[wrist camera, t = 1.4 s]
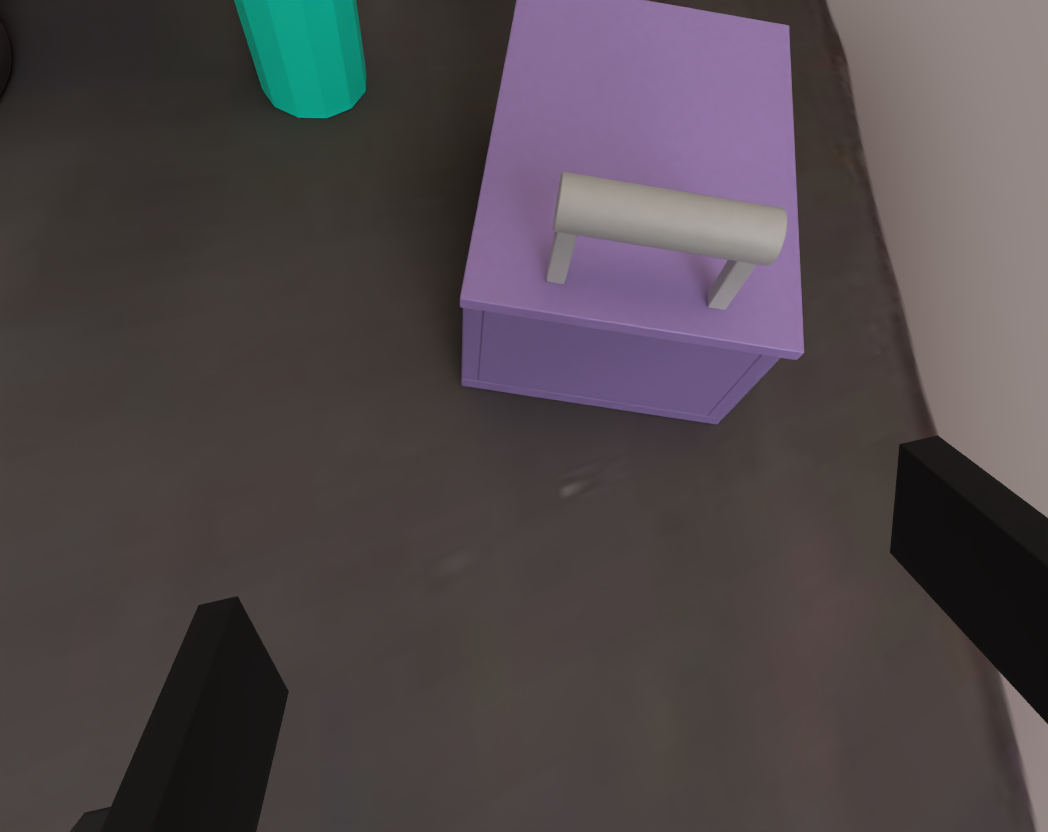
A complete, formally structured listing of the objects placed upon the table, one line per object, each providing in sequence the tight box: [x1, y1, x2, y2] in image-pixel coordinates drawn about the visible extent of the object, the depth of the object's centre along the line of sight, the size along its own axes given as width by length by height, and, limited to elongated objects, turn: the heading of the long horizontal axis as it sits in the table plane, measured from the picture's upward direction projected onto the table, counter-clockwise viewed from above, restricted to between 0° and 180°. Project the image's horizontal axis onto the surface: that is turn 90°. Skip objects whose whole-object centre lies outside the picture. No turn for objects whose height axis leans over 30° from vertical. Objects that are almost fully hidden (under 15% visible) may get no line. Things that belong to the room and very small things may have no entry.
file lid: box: [460, 0, 804, 360], centre depth 26 cm, size 17×13×5 cm
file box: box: [461, 308, 781, 424], centre depth 32 cm, size 17×13×8 cm
